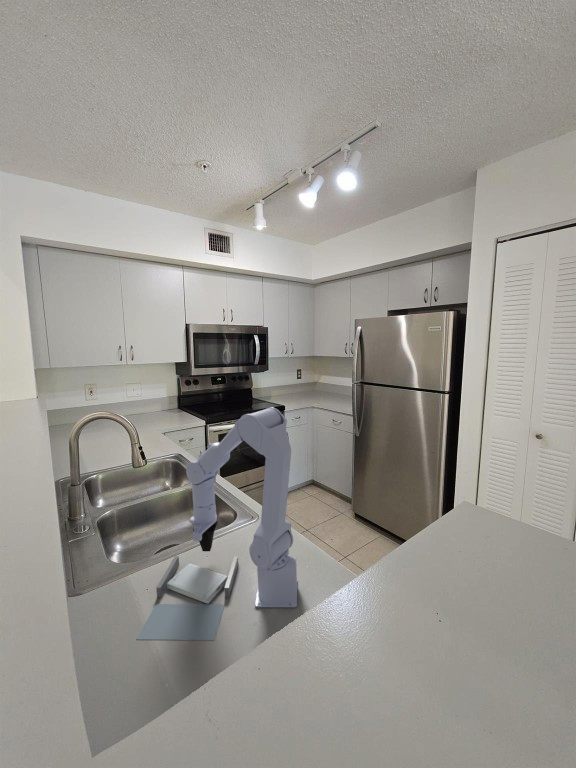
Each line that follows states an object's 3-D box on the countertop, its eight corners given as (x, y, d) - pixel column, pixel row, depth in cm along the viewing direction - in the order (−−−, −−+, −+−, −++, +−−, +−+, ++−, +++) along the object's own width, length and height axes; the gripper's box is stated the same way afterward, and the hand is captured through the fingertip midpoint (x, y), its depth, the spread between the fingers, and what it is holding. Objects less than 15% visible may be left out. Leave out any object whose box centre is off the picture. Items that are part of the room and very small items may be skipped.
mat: (224, 605, 74) (224, 604, 74) (214, 641, 65) (214, 640, 65) (155, 605, 74) (155, 604, 74) (136, 640, 66) (136, 639, 66)
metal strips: (238, 564, 87) (238, 556, 87) (229, 597, 76) (228, 587, 76) (175, 564, 88) (175, 556, 88) (157, 597, 76) (156, 587, 76)
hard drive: (166, 583, 79) (207, 598, 74) (189, 562, 86) (228, 574, 81) (167, 589, 79) (207, 604, 74) (190, 568, 86) (228, 581, 81)
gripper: (197, 490, 94) (200, 534, 96) (179, 517, 79) (182, 567, 81) (222, 490, 94) (224, 534, 95) (207, 516, 79) (210, 568, 81)
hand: (206, 549), depth 88 cm, fingers closed
